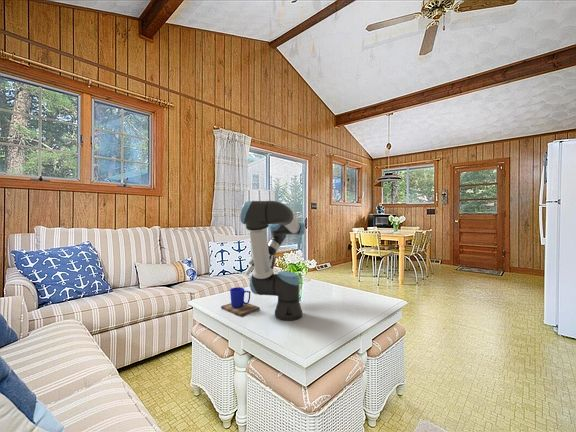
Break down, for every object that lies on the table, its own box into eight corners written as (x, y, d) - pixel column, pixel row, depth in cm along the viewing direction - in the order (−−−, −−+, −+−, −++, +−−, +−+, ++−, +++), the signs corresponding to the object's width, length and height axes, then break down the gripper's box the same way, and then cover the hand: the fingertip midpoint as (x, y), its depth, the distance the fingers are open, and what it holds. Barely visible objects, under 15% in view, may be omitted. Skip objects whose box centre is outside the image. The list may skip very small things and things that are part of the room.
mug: (247, 309, 157) (247, 292, 157) (227, 308, 159) (227, 290, 159) (252, 304, 165) (252, 288, 165) (233, 303, 168) (233, 286, 167)
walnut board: (259, 309, 161) (259, 307, 161) (240, 316, 151) (240, 313, 151) (240, 302, 173) (240, 300, 173) (221, 308, 163) (221, 306, 163)
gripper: (288, 254, 174) (271, 283, 163) (261, 250, 191) (244, 276, 180) (282, 246, 170) (264, 275, 159) (255, 243, 186) (237, 269, 176)
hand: (253, 276), depth 169 cm, fingers open, 13 cm apart
